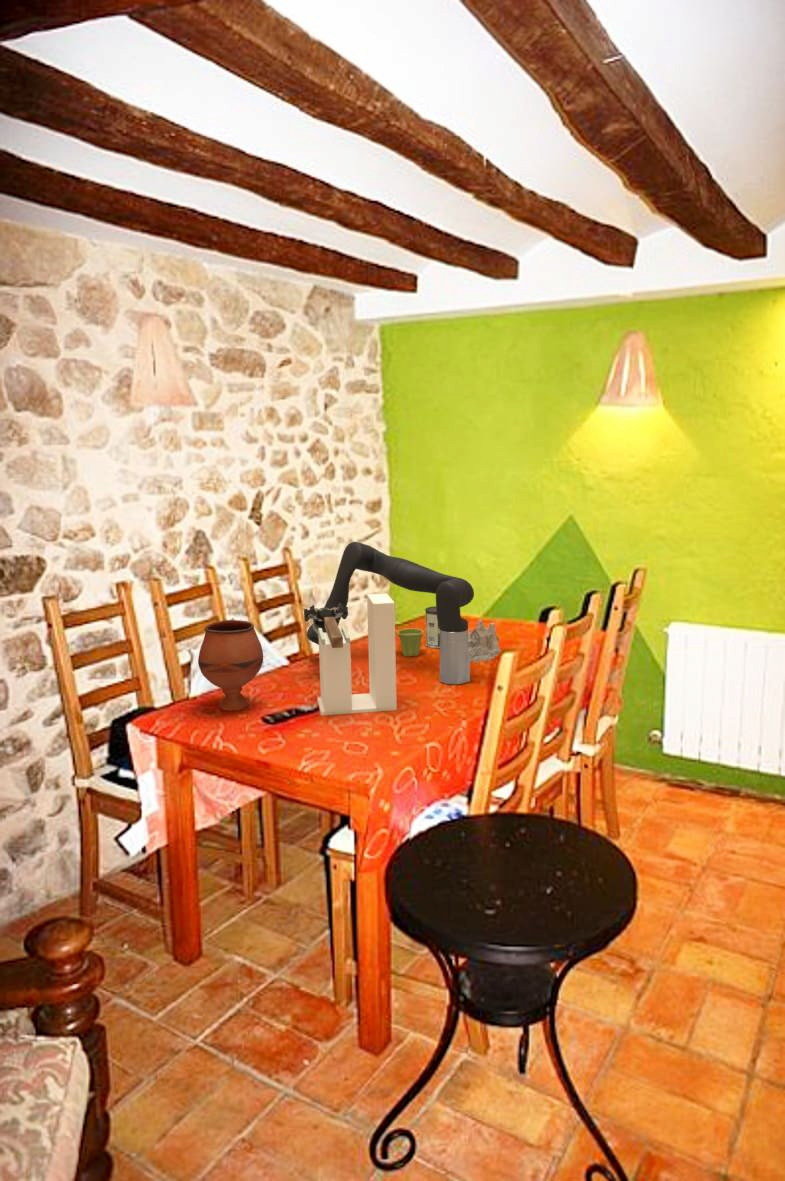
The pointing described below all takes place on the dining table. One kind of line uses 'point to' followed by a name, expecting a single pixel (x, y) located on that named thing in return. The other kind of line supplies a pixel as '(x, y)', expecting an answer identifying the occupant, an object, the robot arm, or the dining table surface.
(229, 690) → the goblet
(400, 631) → the plant pot
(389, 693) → the stand
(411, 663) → the dining table surface
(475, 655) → the ceramic cottage
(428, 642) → the coffee can
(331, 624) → the walnut baton
